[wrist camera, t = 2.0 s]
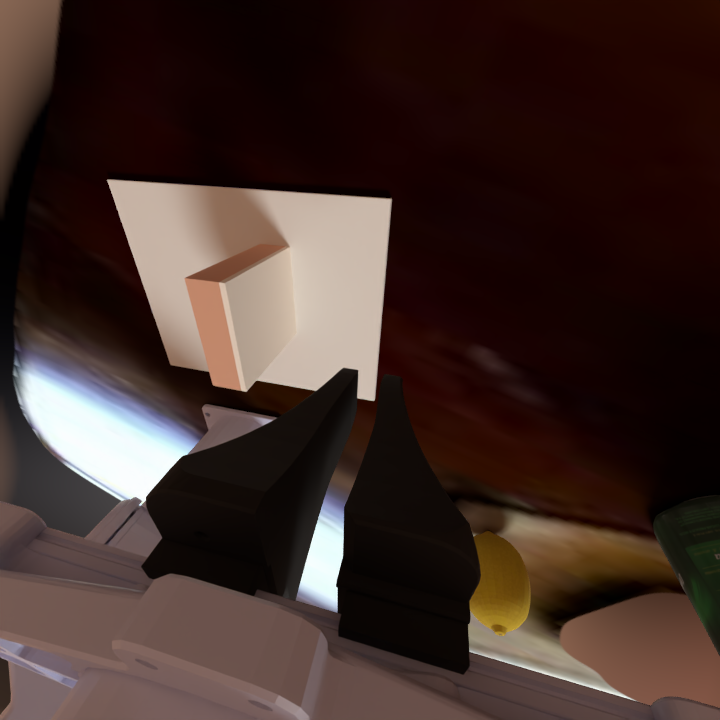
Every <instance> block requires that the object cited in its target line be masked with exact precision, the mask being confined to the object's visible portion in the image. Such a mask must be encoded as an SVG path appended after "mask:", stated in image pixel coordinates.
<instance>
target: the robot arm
mask: <svg viewBox="0 0 720 720" xmlns="http://www.w3.org/2000/svg"><path fill="white" fill-rule="evenodd" d="M402 382H403V379H402V378H401V377H399V376H392V375H386V374H385V375H384V377H383V379H382V382H381V385H380V392H379V399H378V406H377V413H376V420H375V424H374V428H373V431H372V434H371V437H370V441H369V444H368V447H367V450H366V453H365V455H364V458H363V461H362V464H361V467H360V469H359V472H358V475H357V478H356V480H355V483H354V485H353V488H352V490H351V492H350V495H349V497H348V500H347V502H346V504H345V507H344V548H343V559H342V563H341V567H340V571H339V575H338V579H337V584H336V587H338V613H336V612H332V611H329V610H325V609H322V608H319V607H315V606H312V605H309V604H305V603H302V602H298V601H295V600H296V596H297V592H298V588H299V585H300V581H301V577H302V573H303V570H304V566H305V562H306V559H307V555H308V552H309V548H310V544H311V541H312V537H313V534H314V530H315V527H316V524H317V520H318V517H319V513H320V510H321V507H322V504H323V500H324V497H325V494H326V491H327V488H328V485H329V482H330V480H331V477H332V475H333V472H334V470H335V468H336V465H337V463H338V460H339V458H340V456H341V453H342V451H343V449H344V446H345V444H346V441H347V439H348V437H349V434H350V432H351V428H352V425H353V421H354V418H355V414H356V410H357V392H358V370H355V369H349V368H342V369H341V370H340V371H339V372H337V373H336V374H335V375H334V376H333V377H332V378H331V379H330V380H329V381H327V382H326V383H325V384H324V385H323V386H321V387H320V388H319V389H318V390H317V391H315V392H314V393H313V394H312V395H310V396H309V397H308V398H306V399H305V400H304V401H302V402H301V403H300V404H298V405H297V406H295V407H294V408H292V409H291V410H289V411H288V412H286V413H285V414H283V415H282V416H280V417H278V418H276V417H271V416H266V415H261V414H255V413H250V412H245V411H240V410H235V409H230V408H225V407H220V406H215V405H210V404H205V405H204V406H203V407H202V411H203V414H204V417H205V420H206V424H207V427H208V430H209V431H208V432H207V433H206V434H205V435H204V436H203V438H202V439H201V440H200V441H199V442H198V443H197V444H196V446H195V447H194V448H193V449H192V450H191V451H190V452H189V454H188V455H185V456H182V457H181V458H180V459H179V460H178V461H177V462H176V464H175V465H174V466H173V467H172V468H171V469H170V470H169V471H168V472H167V473H166V475H165V476H164V477H163V478H162V479H161V480H160V481H159V483H158V484H157V485H156V486H155V487H154V488H153V489H152V491H151V492H150V493H149V494H148V496H147V497H146V501H145V502H144V503H143V504H142V505H141V506H139V504H140V503H141V502H142V501H141V500H140V499H138V498H137V497H134V498H132V499H131V500H130V499H128V500H124V501H121V502H120V503H119V504H118V505H117V506H116V507H115V508H114V509H113V510H112V511H111V512H110V513H109V514H108V515H107V516H106V517H105V518H104V519H103V520H102V521H101V522H100V523H99V524H98V525H97V526H96V527H95V528H94V529H93V530H92V531H91V532H90V533H89V534H88V535H87V536H86V538H82V537H78V536H75V535H72V534H68V533H65V532H62V531H58V530H55V529H51V528H48V527H46V524H45V523H44V521H43V520H42V519H41V518H40V517H39V516H38V515H37V514H36V513H34V512H32V511H31V510H28V509H25V508H22V507H19V506H15V505H12V504H8V503H5V502H2V501H0V657H1V658H3V659H5V660H8V661H9V673H10V686H11V702H10V704H9V705H8V706H7V707H6V709H5V710H4V711H3V712H2V714H1V715H0V720H720V708H718V707H714V706H711V705H707V704H704V703H701V702H697V701H694V700H690V699H685V698H681V697H663V698H660V699H658V700H656V701H655V702H654V703H653V704H652V705H651V706H650V705H647V704H643V703H640V702H637V701H633V700H630V699H626V698H623V697H620V696H616V695H613V694H610V693H606V692H603V691H599V690H596V689H593V688H589V687H586V686H582V685H579V684H576V683H572V682H569V681H566V680H562V679H559V678H555V677H552V676H549V675H545V674H542V673H538V672H535V671H532V670H528V669H525V668H522V667H518V666H515V665H511V664H508V663H505V662H501V661H498V660H495V659H491V658H488V657H484V656H481V655H478V654H474V653H471V652H469V639H468V624H469V623H470V599H471V598H472V596H473V594H474V592H475V590H476V588H477V586H478V584H479V582H480V577H481V571H480V563H479V558H478V553H477V549H476V545H475V541H474V538H473V534H472V531H471V528H470V525H469V523H468V521H467V520H466V519H465V517H464V516H463V515H462V514H461V512H460V511H459V510H458V508H457V507H456V506H455V504H454V503H453V502H452V500H451V499H450V497H449V496H448V495H447V493H446V492H445V490H444V489H443V487H442V486H441V484H440V482H439V481H438V479H437V477H436V476H435V474H434V472H433V471H432V469H431V467H430V466H429V464H428V462H427V460H426V458H425V456H424V454H423V452H422V450H421V448H420V446H419V444H418V441H417V439H416V437H415V434H414V431H413V429H412V426H411V423H410V420H409V417H408V413H407V409H406V406H405V401H404V396H403V388H402Z"/></svg>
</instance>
